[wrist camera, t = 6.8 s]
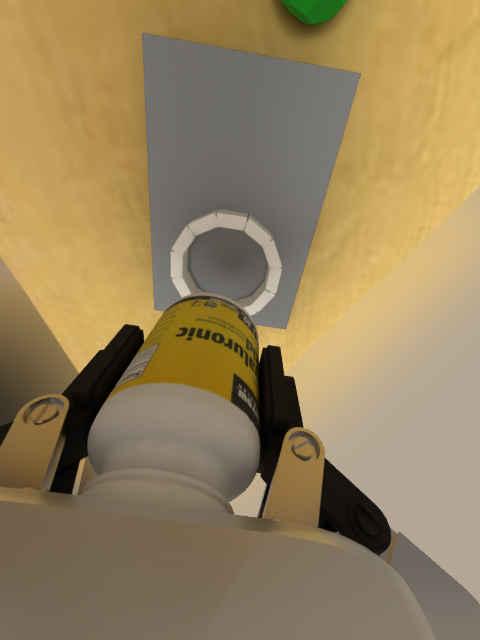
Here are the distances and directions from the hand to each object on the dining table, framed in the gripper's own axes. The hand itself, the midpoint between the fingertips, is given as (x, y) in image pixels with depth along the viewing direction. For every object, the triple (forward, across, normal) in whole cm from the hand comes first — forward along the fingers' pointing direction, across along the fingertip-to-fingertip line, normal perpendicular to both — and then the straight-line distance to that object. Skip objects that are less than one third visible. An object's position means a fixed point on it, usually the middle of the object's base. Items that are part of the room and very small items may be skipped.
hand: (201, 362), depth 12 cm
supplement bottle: (+3, 0, 0) cm, 3 cm away
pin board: (+15, 0, -4) cm, 15 cm away
